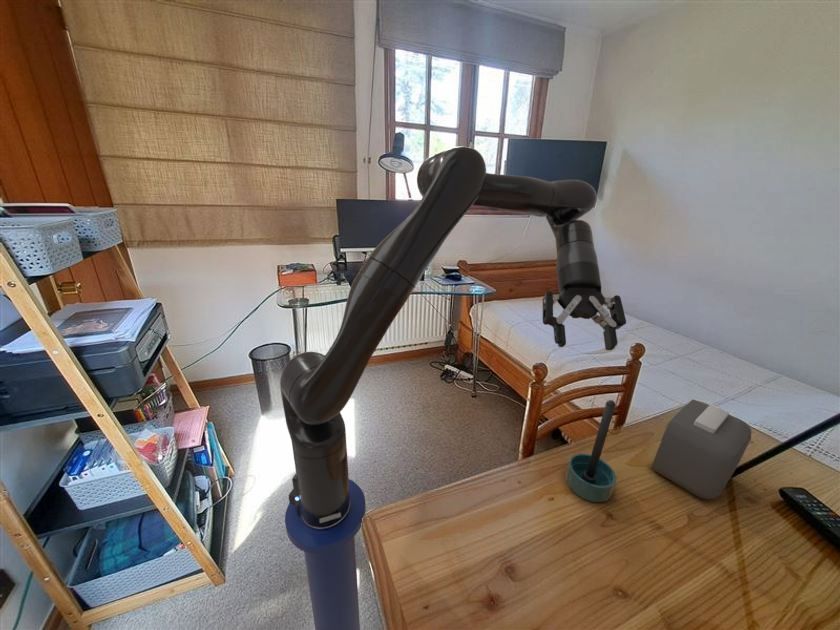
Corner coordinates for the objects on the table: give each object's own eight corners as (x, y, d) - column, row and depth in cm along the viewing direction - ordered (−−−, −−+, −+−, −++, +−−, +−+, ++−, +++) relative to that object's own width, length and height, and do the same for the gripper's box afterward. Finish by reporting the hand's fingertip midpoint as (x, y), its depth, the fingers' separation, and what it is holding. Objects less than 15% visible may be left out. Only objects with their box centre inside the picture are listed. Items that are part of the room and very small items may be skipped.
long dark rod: (586, 489, 71) (611, 406, 63) (578, 479, 73) (601, 397, 65) (597, 487, 71) (622, 404, 64) (588, 477, 74) (612, 396, 66)
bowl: (568, 498, 69) (572, 481, 68) (562, 464, 78) (566, 449, 76) (616, 509, 67) (621, 492, 66) (605, 473, 76) (609, 458, 74)
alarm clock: (676, 443, 85) (697, 392, 79) (734, 473, 77) (762, 418, 71) (649, 473, 76) (670, 417, 70) (710, 511, 68) (740, 450, 62)
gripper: (546, 257, 64) (553, 338, 58) (624, 261, 63) (638, 343, 57) (535, 277, 71) (540, 351, 65) (605, 281, 70) (616, 356, 64)
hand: (586, 347), depth 61 cm, fingers open, 8 cm apart
